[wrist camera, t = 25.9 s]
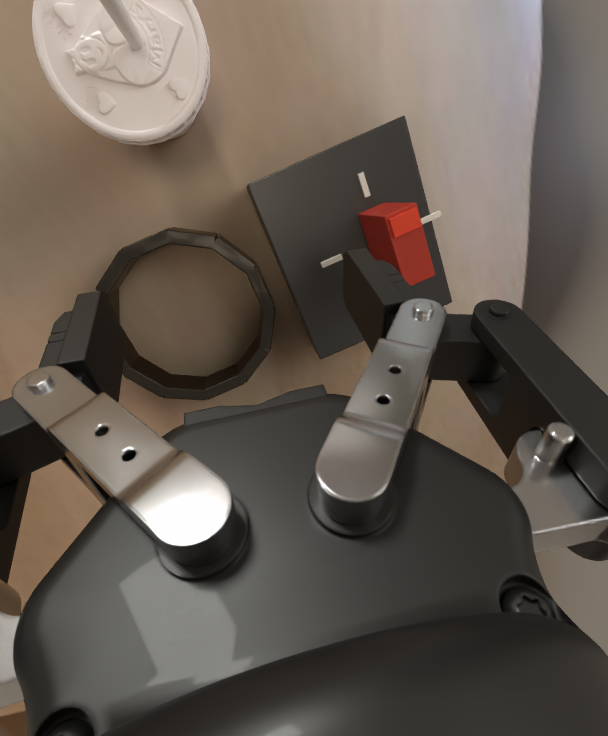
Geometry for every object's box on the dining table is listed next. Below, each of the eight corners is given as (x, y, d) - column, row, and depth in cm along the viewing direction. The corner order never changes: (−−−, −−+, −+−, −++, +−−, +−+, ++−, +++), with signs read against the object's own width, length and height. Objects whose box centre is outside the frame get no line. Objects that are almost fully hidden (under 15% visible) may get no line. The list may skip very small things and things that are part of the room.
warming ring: (159, 407, 32) (153, 423, 29) (72, 270, 27) (57, 277, 25) (294, 349, 31) (298, 360, 29) (228, 201, 27) (228, 201, 25)
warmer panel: (313, 346, 32) (320, 360, 29) (245, 186, 27) (246, 184, 24) (441, 290, 31) (461, 299, 29) (396, 120, 27) (415, 110, 24)
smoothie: (235, 144, 26) (232, 85, 13) (137, 178, 26) (38, 153, 13) (192, 21, 23) (138, -204, 10) (84, 58, 23) (-105, -122, 10)
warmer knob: (402, 263, 27) (438, 276, 22) (377, 274, 27) (407, 289, 22) (384, 202, 26) (418, 202, 21) (357, 213, 26) (385, 216, 21)
